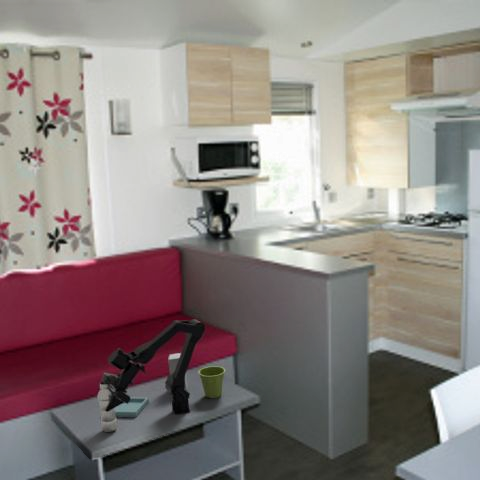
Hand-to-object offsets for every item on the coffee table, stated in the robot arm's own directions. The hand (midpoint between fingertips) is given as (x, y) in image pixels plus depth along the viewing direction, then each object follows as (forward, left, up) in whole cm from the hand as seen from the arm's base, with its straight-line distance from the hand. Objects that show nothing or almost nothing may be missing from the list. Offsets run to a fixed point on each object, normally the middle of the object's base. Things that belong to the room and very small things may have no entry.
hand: (103, 408), depth 264 cm
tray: (-9, -18, -10) cm, 23 cm away
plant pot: (-47, -17, -10) cm, 51 cm away
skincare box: (-34, -31, -10) cm, 47 cm away
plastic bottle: (-1, 0, -10) cm, 10 cm away
